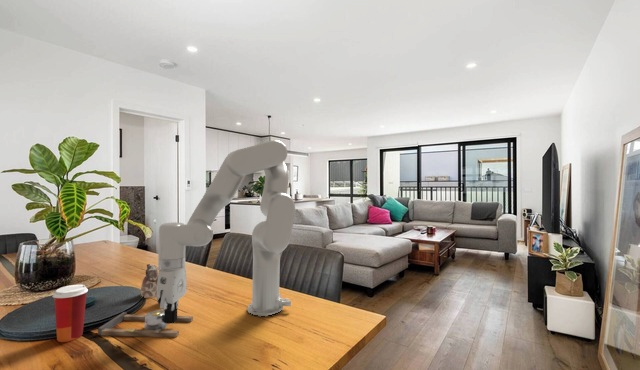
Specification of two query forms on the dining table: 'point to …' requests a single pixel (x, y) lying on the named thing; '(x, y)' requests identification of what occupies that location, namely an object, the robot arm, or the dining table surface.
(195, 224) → the robot arm
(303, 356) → the dining table surface
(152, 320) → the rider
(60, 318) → the paper cup
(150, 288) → the figurine
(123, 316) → the beam track
